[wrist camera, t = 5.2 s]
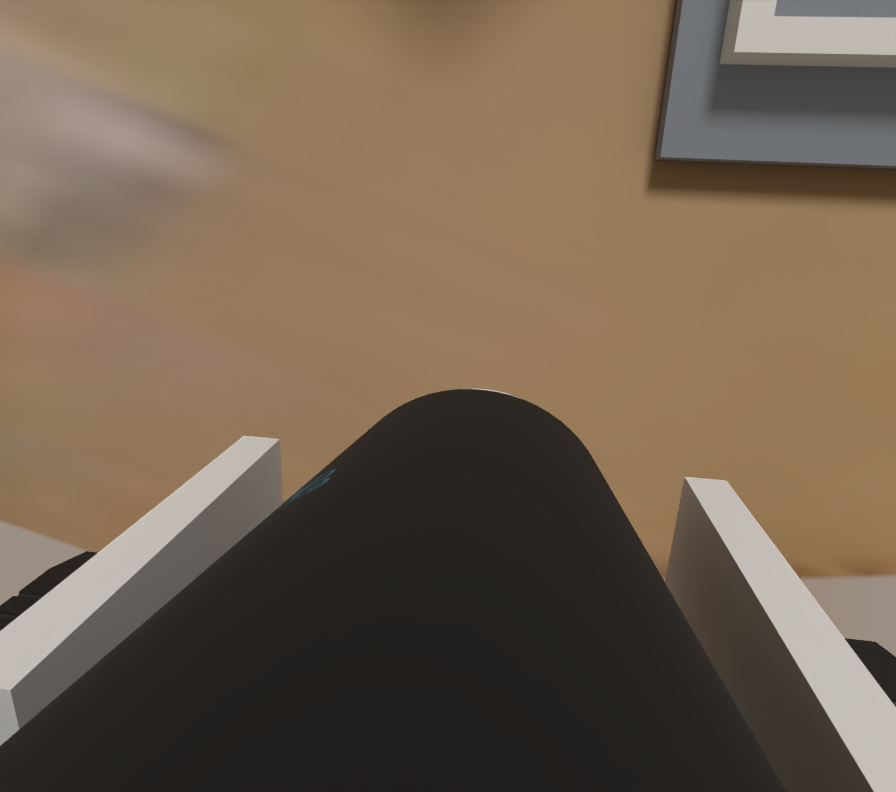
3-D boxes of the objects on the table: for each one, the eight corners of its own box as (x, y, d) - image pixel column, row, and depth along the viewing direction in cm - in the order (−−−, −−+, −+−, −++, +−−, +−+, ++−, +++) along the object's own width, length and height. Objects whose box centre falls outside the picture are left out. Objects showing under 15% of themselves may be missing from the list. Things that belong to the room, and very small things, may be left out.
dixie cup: (665, 637, 13) (1141, 2089, 3) (336, 642, 15) (-124, 1692, 4) (659, 292, 11) (2414, 1353, 1) (271, 332, 12) (-1045, 960, 2)
